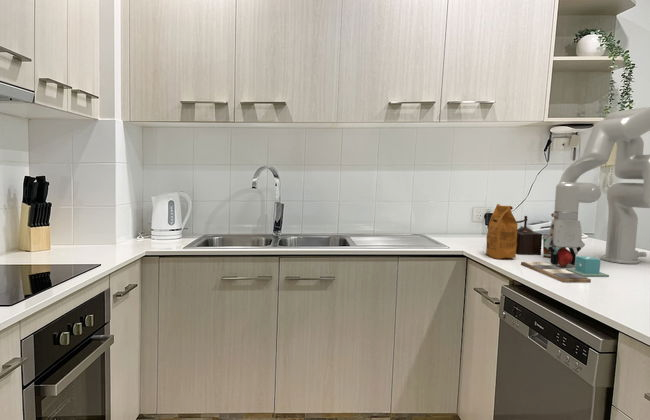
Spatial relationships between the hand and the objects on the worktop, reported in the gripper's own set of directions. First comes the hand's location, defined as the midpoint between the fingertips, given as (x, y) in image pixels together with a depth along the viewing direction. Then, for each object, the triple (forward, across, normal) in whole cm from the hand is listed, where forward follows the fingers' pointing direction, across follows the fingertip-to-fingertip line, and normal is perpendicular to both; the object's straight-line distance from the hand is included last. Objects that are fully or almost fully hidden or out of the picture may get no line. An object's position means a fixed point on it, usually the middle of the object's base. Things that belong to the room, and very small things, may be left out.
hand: (562, 263), depth 146 cm
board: (+1, -10, -9) cm, 13 cm away
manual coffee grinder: (+1, -2, +28) cm, 28 cm away
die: (+1, +2, -10) cm, 10 cm away
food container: (+1, +9, +17) cm, 19 cm away
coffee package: (+1, -15, +18) cm, 23 cm away
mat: (+1, +2, -10) cm, 10 cm away
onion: (+1, 0, 0) cm, 1 cm away
